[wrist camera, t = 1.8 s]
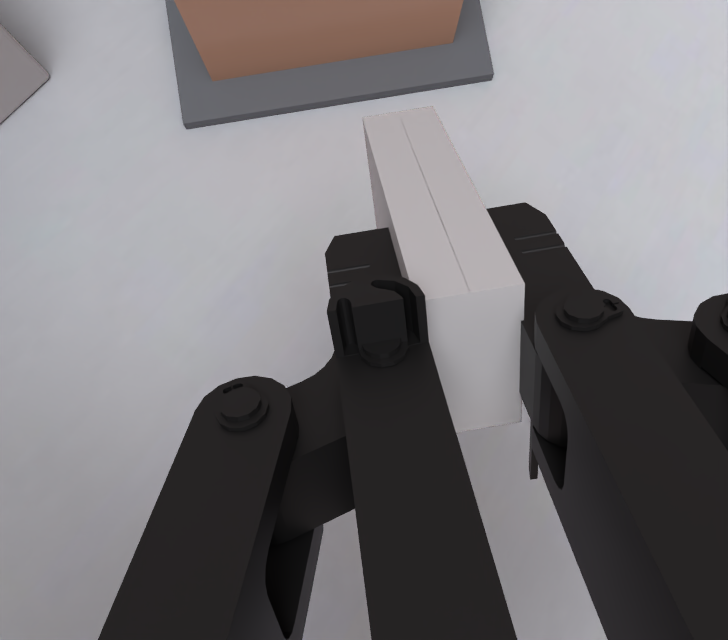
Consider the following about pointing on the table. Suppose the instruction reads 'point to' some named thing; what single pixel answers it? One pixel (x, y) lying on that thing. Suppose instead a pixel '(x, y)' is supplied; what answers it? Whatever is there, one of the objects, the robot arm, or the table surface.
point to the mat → (326, 75)
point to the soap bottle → (17, 74)
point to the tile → (310, 31)
